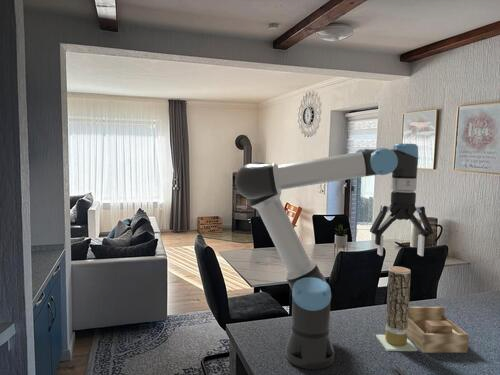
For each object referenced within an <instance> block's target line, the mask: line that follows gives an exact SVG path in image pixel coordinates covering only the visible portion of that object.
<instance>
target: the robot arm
mask: <svg viewBox="0 0 500 375" xmlns="http://www.w3.org/2000/svg"><path fill="white" fill-rule="evenodd" d="M418 163H419V146H418V145H417V144H415V143H394V144H393V148H392V149H390V148H388V147H387V148H386V147H381V148H375V149H374V148H371V149H370V148H364V149H362V148H360V149H359V148H358V149H356V151H355V152H351V153H345V154H344V153H343V154H339V155H333V156H329V157H328V156H327V157H321V158H315V159H310V160H301V161H297V162H291V163H290V162H289V163H284V164H277V163H275V162H271V163H263V162H259V161H257V162H256V161H255V162H254V161H253V162H252V163H247V164H245V165H242V167H240V168H239V170H238V171H237V173H236V175H235V180H234V183H235V188H236V190H237V192H238V193H239V194H240V195H241V196H243V198H246V199H247V201H248V204H249V205H250V208H253V209H255V210H257V212H258V214H259V216H260V218H261V220H262V222H263V224H264V226H265V228H266V230H267V232H268V234H269V237H270V238H271V241H272V242H273V245H274V247H275V249H276V250H277V253H278V255H279V256H280V259H281V261H282V264H283V265H284V268H285V269H286V274H285V279H286V280H287V283H288V285H289V287H290V289H291V296H292V297H291V298H292V300H291V303H292V304H291V331H290V334H289V337H288V340H287V342H286V345H285V352H284V353H285V354H284V355H285V358H286V360H287V361H289V363H291V364H293V365H294V366H296V367H298V368H301V369H305V370H323V369H327V368H329V367H330V366H332V365H333V364H334V362H335V349H334V347H333V343H332V340H331V335H330V328H331V327H330V322H331V321H330V320H331V319H330V318H331V300H332V291H331V287H330V285H329V283H328V282H327V280H326V278H325V276H324V275H323V273H321V271H320V268H319V267H318V265H317V263H316V261H312V260H310V258H309V256H308V253H307V252H306V250H305V248H304V245H303V244H302V241H301V240H300V238H299V235H298V233H297V232H296V229H295V227H294V225H293V223H292V222H291V220H290V217H289V215H288V212H287V211H286V209H285V207H284V205H283V203H282V201H281V199H280V198H281V195H282V191H283V190H288V189H294V188H295V189H296V188H300V187H307V186H312V185H313V186H314V185H319V184H325V183H333V182H338V181H344V180H353V179H358V178H366V177H373V176H379V175H380V176H385V175H389V174H391V190H392V191H391V192H390V205H389V206H388V205H385V204H382V205H380V209H379V210H380V211H379V212H378V215H377V216H376V218H375V220H374V221H373V223H372V226H371V227H370V229H369V232H370V233H371V234H373V235H374V236H375V237H374V238H375V239H374V240H375V241H374V243H375V245H376V246H377V253H376V254H377V255H379V256H380V257H382V256H383V255H384V254H383V253H384V235H383V234H384V232H386V231H387V229H388V228H389V227H390V226H391V224H393V223H394V222H395V221H396V220H398V221H400V220H401V221H402V220H405V221H408V220H409V221H410V222H411V224H412V225H413V226H414V227H415V229H417V231H418V232H419V234H418V236H417V250H416V251H417V252H416V253H417V255H418V256H420V257H424V252H425V246H427V243H428V241H427V240H428V237H429V236H430V235H434V230H433V229H432V226H431V224H430V220H429V219H428V217H427V214H426V207H425V206H424V205H423V206H422V205H418V206H416V201H417V200H416V199H417V193H416V190H417V184H418V183H417V181H418V180H417V179H418V178H417V177H418ZM389 211H390V214H389V215H388V216H387V218H386V220H384V219H385V217H386V214H387V213H388V212H389ZM415 212H416V213H418V216H419V219H420V221H421V223H422V224H421V223H420V221H419V220H418V219H417V217H416V215H415Z"/></svg>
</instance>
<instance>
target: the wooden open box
mask: <svg viewBox="0 0 500 375" xmlns="http://www.w3.org/2000/svg"><path fill="white" fill-rule="evenodd" d="M445 310H446V309H445V306H409V311H408V329H407V338H408V339H409V340H410V341H411V342H413V344H414V345H415V346H416V347H417V349H419V350H420V351H421V352H422V353H424V354H425V353H431V354H432V353H468V349H469V348H468V347H469V336H470V335H469V334H468V333H467V332H466V331H465V330H463V329H462V328H461V327H459V325H457V324H456V323H454V322H453V321H451V320H450V319H449V318H448V317H446V316H445V313H446V312H445ZM426 321H447V322H448V323H450V324H451V325H452V326H453V328H452V329H453V330H454V331H456V332H457V333H426V329H425V324H426Z"/></svg>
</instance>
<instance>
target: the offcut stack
mask: <svg viewBox="0 0 500 375" xmlns="http://www.w3.org/2000/svg"><path fill="white" fill-rule="evenodd" d="M452 328H453V326H452V325H451V324H450V323H448V322H447V321H426V324H425V329H426V332H425V333H457V332H456V331H454V330H453V329H452Z"/></svg>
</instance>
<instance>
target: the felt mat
mask: <svg viewBox="0 0 500 375" xmlns="http://www.w3.org/2000/svg"><path fill="white" fill-rule="evenodd" d="M375 337H376V338H377V340H378V341H379V342H380V344H381V345H382V346H383V347H384V349H385V350H386V351H387V352H418V349H419V348H418V347H417V346H416V345H415V344H414V343H412V341H411V339H410V338H409V337H407V342H406V344H405V345H402V346H397V345H392V344H390V343H388V342H387V341H386V339H385V334H375Z"/></svg>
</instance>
